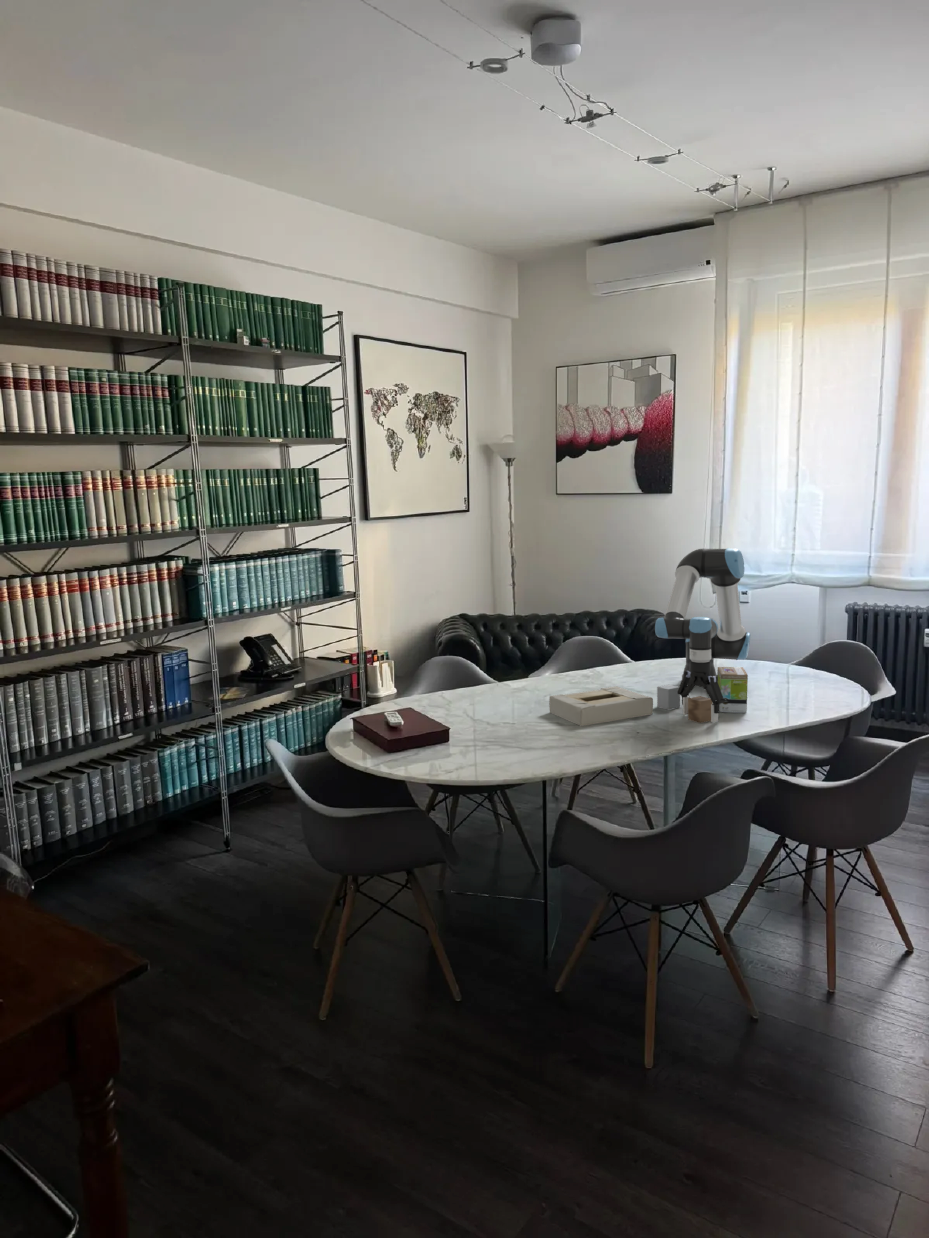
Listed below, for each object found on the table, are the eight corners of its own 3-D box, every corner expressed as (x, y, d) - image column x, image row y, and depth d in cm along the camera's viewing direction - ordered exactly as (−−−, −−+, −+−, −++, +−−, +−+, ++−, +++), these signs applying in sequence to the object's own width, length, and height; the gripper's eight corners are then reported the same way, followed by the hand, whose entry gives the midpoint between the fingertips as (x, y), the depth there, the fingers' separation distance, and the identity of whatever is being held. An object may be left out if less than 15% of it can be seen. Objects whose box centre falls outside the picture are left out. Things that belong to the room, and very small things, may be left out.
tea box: (747, 713, 317) (748, 674, 315) (719, 712, 319) (719, 673, 317) (743, 703, 332) (743, 666, 330) (716, 703, 334) (716, 665, 332)
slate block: (657, 706, 331) (657, 686, 330) (668, 704, 335) (668, 684, 333) (668, 709, 326) (668, 689, 325) (679, 707, 329) (679, 687, 328)
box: (581, 728, 307) (654, 715, 321) (580, 707, 306) (653, 694, 320) (548, 715, 328) (617, 703, 342) (547, 695, 327) (617, 684, 341)
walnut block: (688, 719, 311) (688, 698, 310) (699, 717, 314) (699, 695, 313) (700, 723, 306) (700, 701, 305) (712, 720, 309) (712, 698, 308)
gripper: (667, 656, 316) (667, 712, 319) (719, 666, 294) (719, 726, 297) (682, 654, 320) (682, 709, 322) (734, 664, 298) (734, 723, 301)
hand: (700, 718), depth 310 cm, fingers open, 13 cm apart
